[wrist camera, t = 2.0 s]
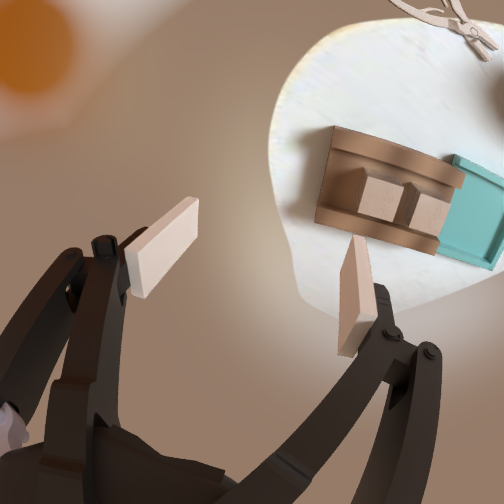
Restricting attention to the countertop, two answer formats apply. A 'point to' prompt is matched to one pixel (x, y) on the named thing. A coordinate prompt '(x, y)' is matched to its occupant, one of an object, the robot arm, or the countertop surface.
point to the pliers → (453, 24)
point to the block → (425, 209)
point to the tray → (475, 217)
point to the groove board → (386, 161)
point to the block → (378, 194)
